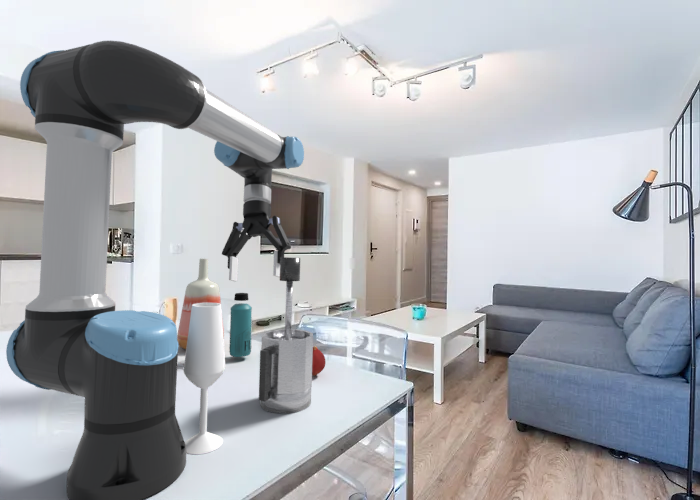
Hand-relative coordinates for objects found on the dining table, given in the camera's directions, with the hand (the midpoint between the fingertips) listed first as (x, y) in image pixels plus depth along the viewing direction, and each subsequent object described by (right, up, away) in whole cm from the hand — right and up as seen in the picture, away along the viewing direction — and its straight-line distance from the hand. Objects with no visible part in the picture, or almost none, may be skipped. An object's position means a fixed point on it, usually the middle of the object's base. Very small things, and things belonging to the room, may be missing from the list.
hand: (254, 278), depth 98 cm
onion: (+16, -26, +1) cm, 31 cm away
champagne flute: (0, -26, -35) cm, 43 cm away
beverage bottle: (-8, -26, +14) cm, 30 cm away
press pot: (+11, -26, -18) cm, 33 cm away
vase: (-24, -25, +24) cm, 43 cm away
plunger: (+12, -13, -17) cm, 24 cm away
